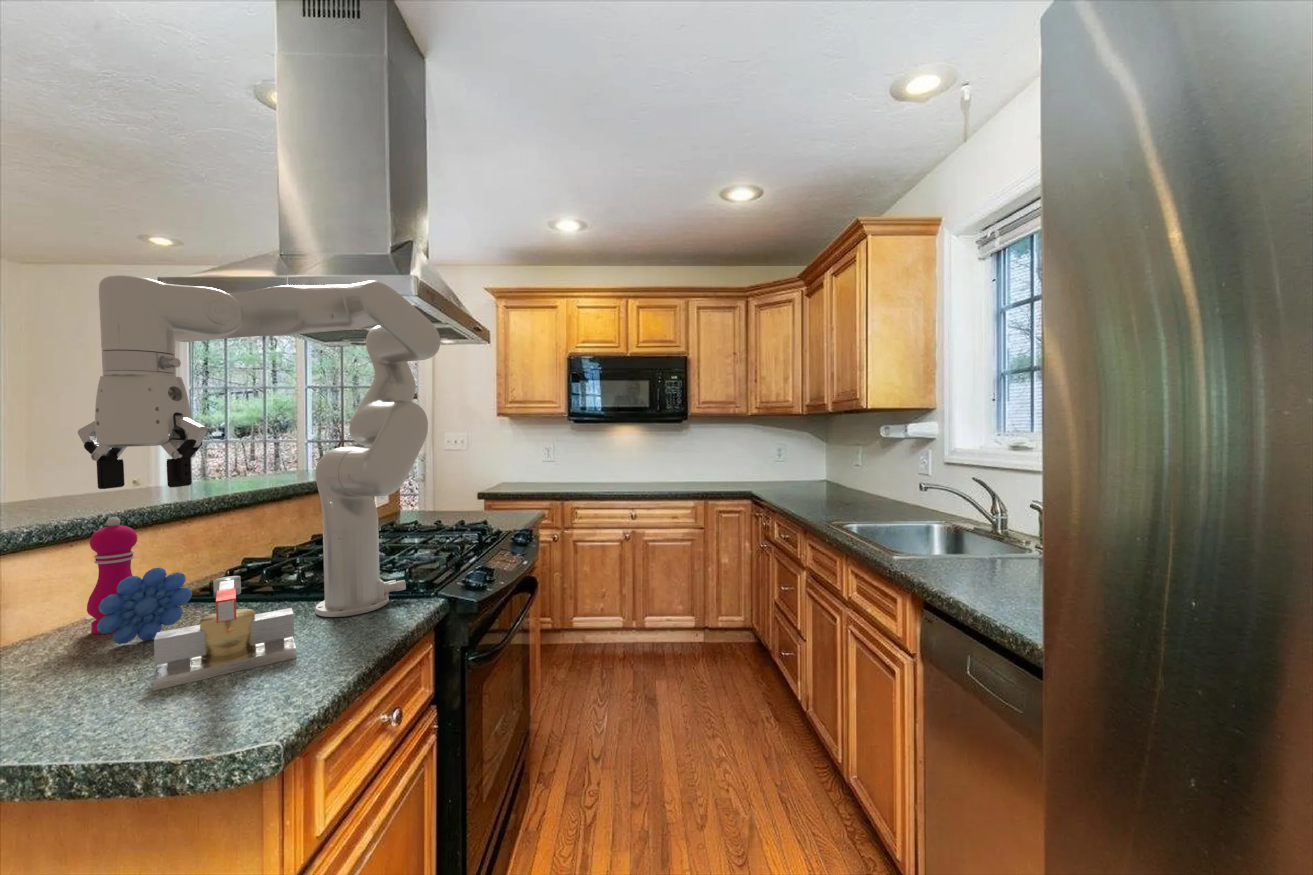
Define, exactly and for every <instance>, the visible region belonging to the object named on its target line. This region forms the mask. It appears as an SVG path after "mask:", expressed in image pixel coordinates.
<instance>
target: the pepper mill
mask: <svg viewBox="0 0 1313 875" xmlns="http://www.w3.org/2000/svg"><path fill="white" fill-rule="evenodd" d="M106 525H107V526H105V527H104V526H103V527H101V528H99V529H98V530H96V531H95V532H94V533H93V534H91V536H90V539H89V547H90V548H91V550H93V551H94V553H96V555H94V559H95V560H94V564H96V565H97V568H98V577H97V581H96V584H95V586H94V588H93V590H92V591H91V594H90V595H89V598H88V601H87V603H86V613H87V614H88V615H89V616H91V617H93V618H94V619H95V620H93V621H92V622H91V624H90V625H91V633H92V634H94V635H103V634H102V633H100V632H99V631H98V630H97V625H98V623H99V621H100V620H101V619H102V618H103V617H105V616H107V615H108V614H103V613H101V612H100V611H99V605H100V603H101V601H102V600H103V599H105V598H106V597H108V596H109V595H113V594H119V593H118V592H117V587H118V585H119V583H120V582H121V581H122V580H124V579H125V578H127V577H129V576H134V575H133V573H132V566H131V564H132V560H133V559H134V558H135V556H134V554H135V550H132V549H133V548H134V547H135V545H136V544H137V543H138V534H137V532H136V531H135V529H134V528H131V527H129V526H127V525H121V519H120V518H119V517H117V516H116V517H115V516H113V517H110V518H108V519H107V520H106ZM115 631H116V630H115ZM115 631H114V632H112V633H111V634H114V633H115ZM106 634H108V633H106Z"/></svg>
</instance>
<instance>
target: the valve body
mask: <svg viewBox="0 0 1313 875" xmlns="http://www.w3.org/2000/svg"><path fill="white" fill-rule="evenodd" d="M255 612H256V610H255V609H251V608H239V609H237V608H236V620H230V621H225V622H220V623H217V622H216V612H215V613H212V614H209V615H206V616H205V617H203V618H201V619H200V621H199V624H196V625H190V626H186V627H178V628H174V629H169V630H163V631H162V630H161V631H160V632H157V634H156V636H155V637H154V638H153V646H154V648H153V651H154V655H153V656H154V666H155V667H156V669H155V672H154V675H153V678H152V692H154V691H155V692H156V691H159V690H163V689H168V688H172V687H176V686H180V685H185V684H189V683H193V682H199V681H202V680H207V679H210V678H211V679H212V678H216V677H219V676H223V675H228V674H229V675H230V674H232V673H237V672H240V671H245V670H248V669H249V670H251V669H254V668H259V667H263V666H267V665H271V664H275V663H280V662H284V661H285V662H286V661H288V660H293V659H296V658H297V647H296V644H295V641H294V637H295V622H294V621H295V619H294V618H295V617H294V615H295V614H294V611H293V608H292V607H289V608H288V607H287V608H283V609H278V610H273V611H268V612H267V611H266V612H262V613H257V614H256V613H255Z"/></svg>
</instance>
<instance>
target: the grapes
mask: <svg viewBox="0 0 1313 875" xmlns="http://www.w3.org/2000/svg"><path fill="white" fill-rule="evenodd" d="M186 580H187V578H186V575H185V574H184V573H182V572H179V571H178V572H172V573H170V574H169V575H167V571H166V569H165V568H162V567H153V568H151V569H149V570H147V571H146V572H145V573H144V574H143V576H142V578H141V577H139V576H138V575H133V576H129V577H127V578H125V579H124V580H122V581H121V582H120V583H119V585H118V587H117V592H118V593H119V594H113V595H109V596H108V597H106V598H105V599H103V600H102V601H101V603H100V605H99V611H100V612H101V613H103V614H108V615H107V616H105V617H103V618H102V619H101V620H100V621H99V623H98V625H97V630H98V631H99V632H100V633H102V634H101V635H104V634H106V633H107V634H113V635H112V641H113V642H114V643H116V644H118V645H123V644H127V643H129V642H130V641H133V639H135V638H136V637H137V638H139V639H140V640H141V641H151V640H154V639H155V636H156V634H157V632H162V629H163V626H173V625H174V624H175V623H177V622H178V621H180V620H181V619H182V617H183V614H184V610H183V609H182V608H181V606H183V605H185V604H186V603H188V602H189V601H191V598H192V596H193V592H192V590H191V589H190V588H189V587H183V586H184V584H185V582H186ZM115 630H116V631H115ZM114 631H115V632H114ZM112 632H114V633H112Z"/></svg>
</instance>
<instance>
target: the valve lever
mask: <svg viewBox="0 0 1313 875" xmlns="http://www.w3.org/2000/svg"><path fill="white" fill-rule="evenodd" d="M241 578H242V576H241V575H231V576H223V577H220V578H219V577H218V578H216V579H213V581H212V582H213V584H212V585H213V587H212V588H213V589H212V590H213V592H212V593H213V598H215V613H216V622H217V623H220V622H225V621H230V620H236V609H237V596H238V595H240V594H241V593H242V582H241V580H242V579H241Z"/></svg>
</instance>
